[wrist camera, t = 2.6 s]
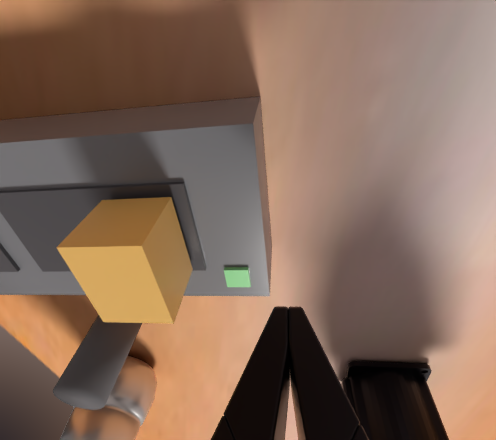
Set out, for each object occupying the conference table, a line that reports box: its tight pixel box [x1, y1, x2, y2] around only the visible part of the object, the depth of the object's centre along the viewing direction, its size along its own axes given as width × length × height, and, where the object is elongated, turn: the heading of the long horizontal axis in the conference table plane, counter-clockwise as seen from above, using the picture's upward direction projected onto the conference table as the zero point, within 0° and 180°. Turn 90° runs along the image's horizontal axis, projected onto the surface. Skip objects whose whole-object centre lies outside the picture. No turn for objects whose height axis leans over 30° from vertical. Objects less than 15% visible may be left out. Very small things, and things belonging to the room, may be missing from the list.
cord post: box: [53, 315, 142, 410], centre depth 21 cm, size 3×3×7 cm
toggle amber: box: [56, 197, 193, 324], centre depth 12 cm, size 3×4×3 cm
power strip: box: [0, 97, 272, 296], centre depth 16 cm, size 23×9×4 cm, turn 96°
